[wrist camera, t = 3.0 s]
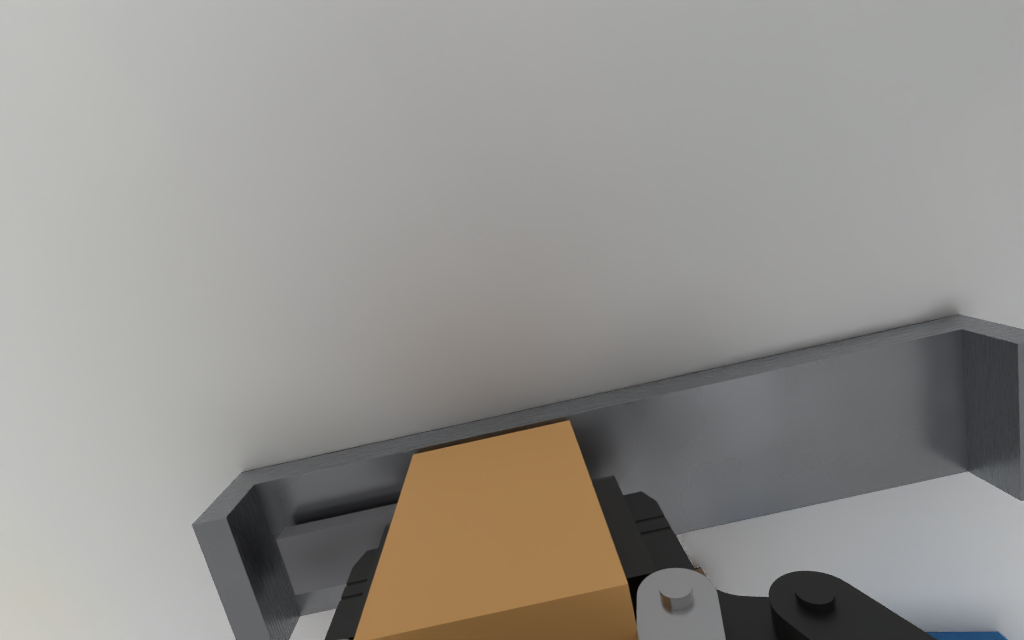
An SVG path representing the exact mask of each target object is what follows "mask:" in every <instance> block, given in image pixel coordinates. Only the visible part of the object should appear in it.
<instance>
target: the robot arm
mask: <svg viewBox="0 0 1024 640" xmlns="http://www.w3.org/2000/svg"><path fill="white" fill-rule="evenodd" d="M591 482H592V484H593V487H594V490H595V493H596V496H597V498H598V501H599V504H600V507H601V510H602V512H603V515H604V518H605V521H606V523H607V526H608V529H609V532H610V535H611V537H612V540H613V543H614V546H615V549H616V551H617V554H618V557H619V560H620V563H621V565H622V568H623V571H624V574H625V577H626V579H627V582H628V586H629V591H630V596H631V601H632V606H633V611H634V616H635V621H636V626H637V631H636V640H937V639H935V638H934V637H932V636H931V635H929V634H927V633H926V632H924V631H923V630H921V629H920V628H918V627H916V626H915V625H913V624H912V623H910V622H908V621H907V620H905V619H904V618H902V617H900V616H899V615H897V614H896V613H894V612H892V611H891V610H889V609H888V608H886V607H885V606H883V605H881V604H880V603H878V602H877V601H875V600H873V599H872V598H870V597H869V596H867V595H865V594H864V593H862V592H861V591H859V590H858V589H856V588H854V587H853V586H851V585H850V584H848V583H846V582H845V581H843V580H841V579H839V578H837V577H834V576H832V575H828V574H825V573H821V572H815V571H797V572H791V573H788V574H785V575H783V576H781V577H779V578H778V579H776V580H775V581H774V582H773V584H772V585H771V587H770V590H769V597H749V596H737V595H732V594H728V593H724V592H721V591H719V590H717V589H716V588H715V586H714V584H713V583H712V582H711V581H710V580H709V579H708V578H707V577H705V576H704V575H702V574H700V573H698V572H696V571H695V569H694V568H693V566H692V564H691V562H690V560H689V559H688V557H687V555H686V553H685V551H684V550H683V548H682V546H681V544H680V542H679V541H678V539H677V537H676V535H675V533H674V531H673V530H672V529H671V526H670V524H669V522H668V521H667V519H666V518H665V516H664V513H663V512H662V510H661V508H660V506H659V504H658V503H657V501H656V500H654V499H653V498H651V497H650V496H648V495H646V494H645V493H643V492H642V491H640V492H635V493H631V494H626V495H623V494H622V491H621V489H620V487H619V485H618V483H617V480H616V478H615V476H614V475H611V476H607V477H602V478H598V479H593V480H591ZM390 525H391V523H390V524H387V525H386V526H385V529H384V532H383V535H382V538H381V541H380V544H379V547H378V548H377V549H372V550H367V551H366V552H365V553H364V555H363V556H362V557H361V558H360V559H359V560H358V561H357V563H356V564H355V565H354V566H353V568H352V570H351V573H350V575H349V578H348V581H347V583H346V584H347V587H345V588H344V591H343V594H342V596H341V601H339V604H338V606H337V609H336V612H335V614H334V617H333V619H332V622H331V625H330V627H329V630H328V632H327V635H326V637H325V640H354V637H355V634H356V631H357V628H358V625H359V622H360V619H361V616H362V612H363V609H364V606H365V603H366V600H367V597H368V594H369V591H370V588H371V584H372V581H373V578H374V575H375V572H376V569H377V566H378V563H379V559H380V556H381V553H382V550H383V547H384V544H385V541H386V538H387V534H388V531H389V528H390Z"/></svg>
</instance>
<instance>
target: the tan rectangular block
mask: <svg viewBox="0 0 1024 640" xmlns="http://www.w3.org/2000/svg"><path fill="white" fill-rule="evenodd" d="M390 523H391V525H390V528H389V531H388V534H387V538H386V541H385V544H384V547H383V550H382V553H381V556H380V559H379V563H378V566H377V569H376V572H375V575H374V578H373V581H372V584H371V588H370V591H369V594H368V597H367V600H366V603H365V606H364V609H363V612H362V616H361V619H360V622H359V625H358V628H357V631H356V634H355V637H354V640H636V631H637V626H636V621H635V616H634V611H633V606H632V601H631V596H630V591H629V586H628V582H627V579H626V577H625V574H624V571H623V568H622V565H621V563H620V560H619V557H618V554H617V551H616V549H615V546H614V543H613V540H612V537H611V535H610V532H609V529H608V526H607V523H606V521H605V518H604V515H603V512H602V510H601V507H600V504H599V501H598V498H597V496H596V493H595V490H594V487H593V484H592V482H591V479H590V476H589V473H588V470H587V468H586V465H585V462H584V459H583V456H582V454H581V451H580V448H579V445H578V442H577V440H576V437H575V434H574V431H573V429H572V426H571V423H570V420H568V421H564V422H559V423H555V424H550V425H546V426H541V427H537V428H532V429H527V430H523V431H518V432H514V433H509V434H505V435H500V436H496V437H491V438H486V439H482V440H477V441H473V442H468V443H464V444H459V445H455V446H450V447H445V448H441V449H436V450H432V451H427V452H423V453H418V454H414V455H413V456H412V460H411V463H410V466H409V469H408V472H407V475H406V478H405V481H404V485H403V488H402V491H401V494H400V497H399V500H398V503H396V504H392V505H387V506H382V507H378V508H373V509H369V510H364V511H360V512H355V513H350V514H346V515H341V516H337V517H332V518H328V519H323V520H318V521H314V522H309V523H305V524H300V525H296V526H291V527H286V528H283V530H282V532H281V533H280V535H279V536H278V538H277V539H276V541H277V544H278V547H279V550H280V552H281V555H282V558H283V561H284V564H285V567H286V570H287V572H288V575H289V578H290V581H291V584H292V587H293V590H294V593H295V595H298V594H303V593H307V592H312V591H316V590H321V589H326V588H330V587H335V586H339V585H344V584H346V583H347V581H348V578H349V575H350V573H351V570H352V568H353V566H354V565H355V564H356V563H357V561H358V560H359V559H360V558H361V557H362V556H363V555H364V553H365V552H366V551H367V550H372V549H377V548H378V547H379V544H380V541H381V538H382V535H383V532H384V529H385V526H386V525H387V524H390Z"/></svg>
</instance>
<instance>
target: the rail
mask: <svg viewBox="0 0 1024 640" xmlns="http://www.w3.org/2000/svg"><path fill="white" fill-rule="evenodd" d="M568 420H570V423H571V426H572V429H573V431H574V434H575V437H576V440H577V442H578V445H579V448H580V451H581V454H582V456H583V459H584V462H585V465H586V468H587V470H588V473H589V476H590V479H591V480H593V479H598V478H602V477H607V476H611V475H614V476H615V478H616V480H617V483H618V485H619V487H620V489H621V491H622V494H623V495H626V494H631V493H635V492H640V491H642V492H643V493H645V494H646V495H648V496H650V497H651V498H653V499H654V500H656V501H657V503H658V504H659V506H660V508H661V510H662V512H663V513H664V516H665V518H666V519H667V521H668V522H669V524H670V526H671V529H672V530H673V531H674V533H675V535H676V534H681V533H686V532H690V531H695V530H699V529H704V528H709V527H713V526H718V525H723V524H727V523H732V522H736V521H741V520H746V519H750V518H755V517H759V516H764V515H769V514H773V513H778V512H782V511H787V510H792V509H796V508H801V507H806V506H810V505H815V504H819V503H824V502H829V501H833V500H838V499H842V498H847V497H852V496H856V495H861V494H866V493H870V492H875V491H879V490H884V489H889V488H893V487H898V486H902V485H907V484H912V483H916V482H921V481H925V480H930V479H935V478H939V477H944V476H949V475H953V474H958V473H962V472H967V471H969V472H970V473H972V474H974V475H976V476H978V477H979V478H981V479H983V480H985V481H987V482H988V483H990V484H992V485H994V486H995V487H997V488H999V489H1001V490H1003V491H1004V492H1006V493H1008V494H1010V495H1012V496H1013V497H1015V498H1017V499H1019V500H1021V501H1023V500H1024V329H1020V328H1015V327H1011V326H1007V325H1003V324H998V323H994V322H990V321H985V320H981V319H977V318H972V317H968V316H964V315H955V316H951V317H946V318H942V319H937V320H933V321H928V322H924V323H919V324H914V325H910V326H905V327H901V328H896V329H892V330H887V331H883V332H878V333H874V334H869V335H865V336H860V337H855V338H851V339H846V340H842V341H837V342H833V343H828V344H824V345H819V346H815V347H810V348H805V349H801V350H796V351H792V352H787V353H783V354H778V355H774V356H769V357H765V358H760V359H755V360H751V361H746V362H742V363H737V364H733V365H728V366H724V367H719V368H715V369H710V370H705V371H701V372H696V373H692V374H687V375H683V376H678V377H674V378H669V379H665V380H660V381H655V382H651V383H646V384H642V385H637V386H633V387H628V388H624V389H619V390H615V391H610V392H606V393H601V394H596V395H592V396H587V397H583V398H578V399H574V400H569V401H565V402H560V403H556V404H551V405H546V406H542V407H537V408H533V409H528V410H524V411H519V412H515V413H510V414H506V415H501V416H496V417H492V418H487V419H483V420H478V421H474V422H469V423H465V424H460V425H456V426H451V427H446V428H442V429H437V430H433V431H428V432H424V433H419V434H415V435H410V436H406V437H401V438H397V439H392V440H387V441H383V442H378V443H374V444H369V445H365V446H360V447H356V448H351V449H347V450H342V451H337V452H333V453H328V454H324V455H319V456H315V457H310V458H306V459H301V460H297V461H292V462H287V463H283V464H278V465H274V466H269V467H265V468H260V469H256V470H251V471H247V472H242V473H241V474H240V475H239V476H238V477H237V478H236V479H235V480H234V481H233V482H232V483H231V484H230V485H229V486H228V487H227V488H226V489H225V491H224V492H223V493H222V494H221V495H220V496H219V497H218V498H217V499H216V500H215V501H214V502H213V503H212V504H211V505H210V506H209V507H208V509H207V510H206V511H205V512H204V513H203V514H202V515H201V516H200V517H199V518H198V519H197V520H196V521H195V522H194V523H193V524H192V526H193V529H194V531H195V534H196V536H197V539H198V542H199V544H200V547H201V549H202V552H203V555H204V557H205V560H206V562H207V565H208V568H209V570H210V573H211V576H212V578H213V581H214V583H215V586H216V589H217V591H218V594H219V596H220V599H221V602H222V604H223V607H224V609H225V612H226V615H227V617H228V620H229V622H230V625H231V628H232V630H233V633H234V635H235V638H236V640H289V639H290V637H291V634H292V632H293V630H294V628H295V626H296V624H297V622H298V620H299V617H300V616H303V615H307V614H312V613H317V612H321V611H326V610H331V609H335V608H337V606H338V604H339V601H341V596H342V594H343V591H344V588H345V587H347V584H344V585H339V586H335V587H330V588H326V589H321V590H316V591H312V592H307V593H303V594H298V595H295V593H294V590H293V587H292V584H291V581H290V578H289V575H288V572H287V570H286V567H285V564H284V561H283V558H282V555H281V552H280V550H279V547H278V544H277V541H276V539H277V538H278V536H279V535H280V533H281V532H282V530H283V528H286V527H291V526H296V525H300V524H305V523H309V522H314V521H318V520H323V519H328V518H332V517H337V516H341V515H346V514H350V513H355V512H360V511H364V510H369V509H373V508H378V507H382V506H387V505H392V504H396V503H398V500H399V497H400V494H401V491H402V488H403V485H404V481H405V478H406V475H407V472H408V469H409V466H410V463H411V460H412V456H413V455H414V454H418V453H423V452H427V451H432V450H436V449H441V448H445V447H450V446H455V445H459V444H464V443H468V442H473V441H477V440H482V439H486V438H491V437H496V436H500V435H505V434H509V433H514V432H518V431H523V430H527V429H532V428H537V427H541V426H546V425H550V424H555V423H559V422H564V421H568Z"/></svg>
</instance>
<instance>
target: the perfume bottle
mask: <svg viewBox="0 0 1024 640" xmlns="http://www.w3.org/2000/svg"><path fill="white" fill-rule="evenodd" d="M926 633H927V634H929V635H931V636H932V637H934V638H935V639H937V640H1008V639H1006V638H1005V637H1004V636H1003V635H1002V634H1000V633H999V632H926Z"/></svg>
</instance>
